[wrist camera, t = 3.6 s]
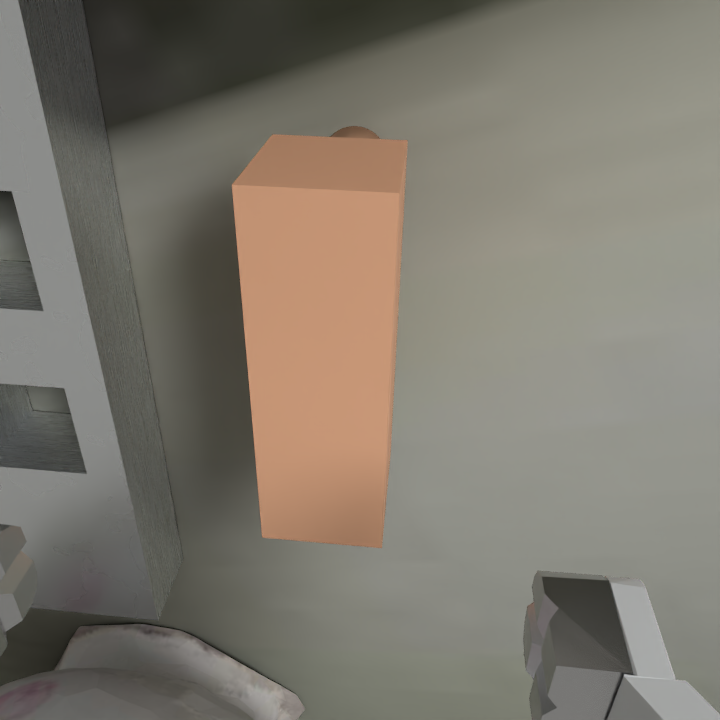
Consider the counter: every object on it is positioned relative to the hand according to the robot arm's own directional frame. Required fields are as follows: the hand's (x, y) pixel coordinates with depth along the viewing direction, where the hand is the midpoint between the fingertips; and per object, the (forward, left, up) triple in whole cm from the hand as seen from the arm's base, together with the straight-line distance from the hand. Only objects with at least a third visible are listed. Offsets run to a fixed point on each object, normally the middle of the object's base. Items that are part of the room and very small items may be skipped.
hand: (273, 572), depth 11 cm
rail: (+2, -10, -12) cm, 15 cm away
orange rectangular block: (0, 0, -12) cm, 12 cm away
